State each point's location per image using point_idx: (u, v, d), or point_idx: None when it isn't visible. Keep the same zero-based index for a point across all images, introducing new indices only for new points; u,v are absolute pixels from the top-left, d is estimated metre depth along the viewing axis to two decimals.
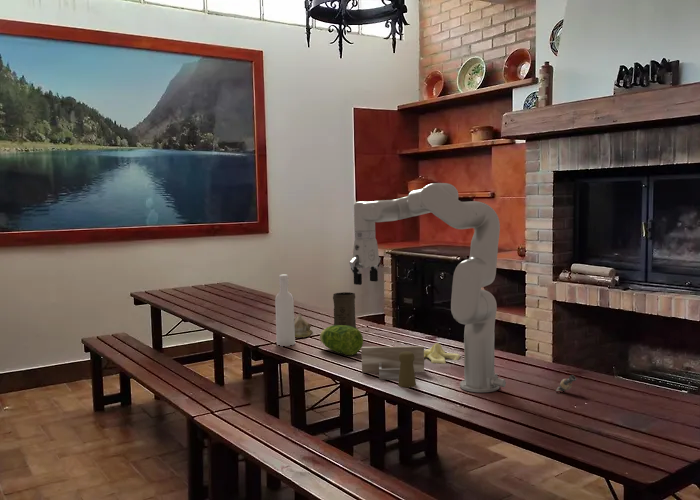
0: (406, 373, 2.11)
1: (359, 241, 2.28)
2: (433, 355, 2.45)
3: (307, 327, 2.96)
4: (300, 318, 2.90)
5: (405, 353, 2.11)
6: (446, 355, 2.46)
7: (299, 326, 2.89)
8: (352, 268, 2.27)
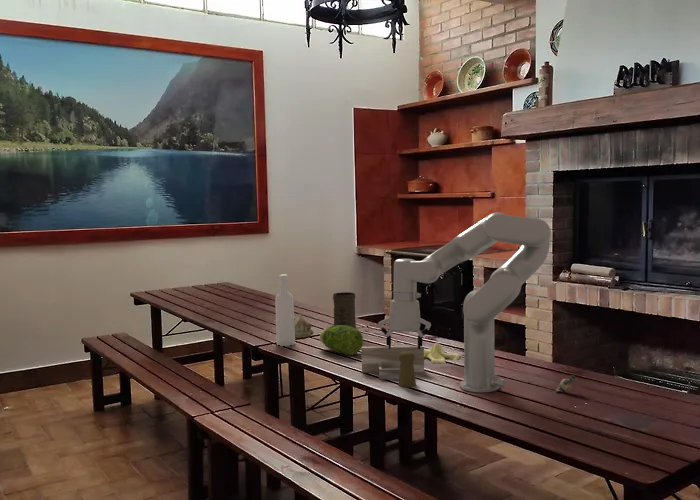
0: (406, 373, 2.11)
1: (418, 301, 2.12)
2: (433, 355, 2.45)
3: (308, 327, 2.96)
4: (301, 318, 2.91)
5: (405, 353, 2.11)
6: (446, 355, 2.46)
7: (300, 326, 2.89)
8: (427, 330, 2.11)
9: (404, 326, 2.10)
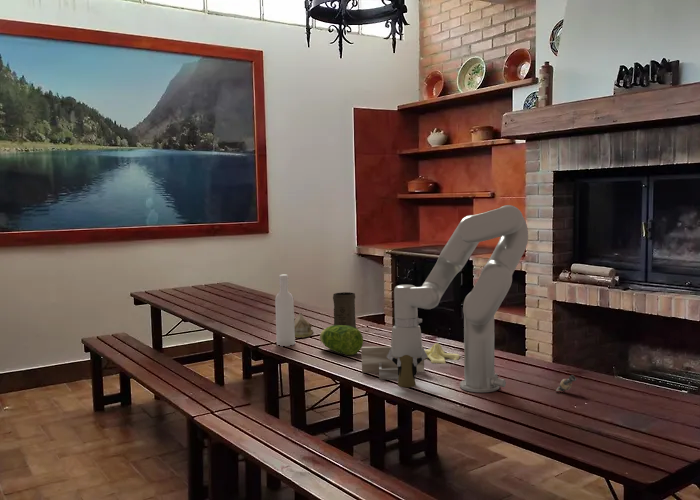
0: (405, 373, 2.11)
1: (419, 327, 2.12)
2: (433, 355, 2.45)
3: (308, 327, 2.97)
4: (301, 318, 2.91)
5: None
6: (446, 355, 2.46)
7: (301, 326, 2.90)
8: None
9: (406, 352, 2.10)
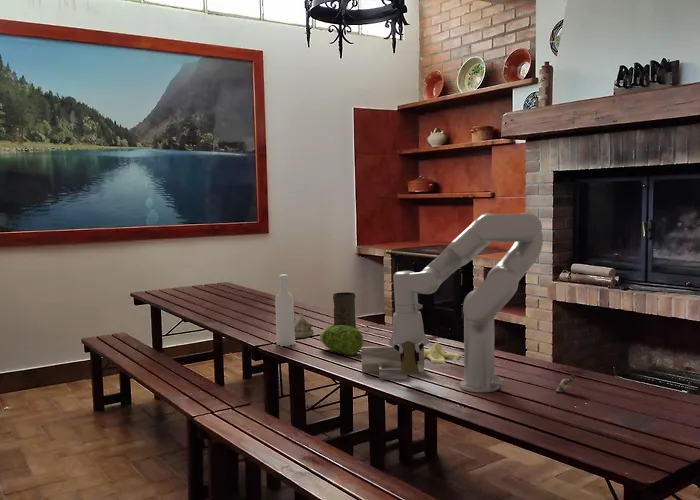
0: (408, 359, 2.10)
1: (420, 312, 2.12)
2: (433, 355, 2.45)
3: (308, 327, 2.97)
4: (302, 318, 2.91)
5: None
6: (446, 355, 2.46)
7: (301, 326, 2.90)
8: None
9: (408, 338, 2.10)
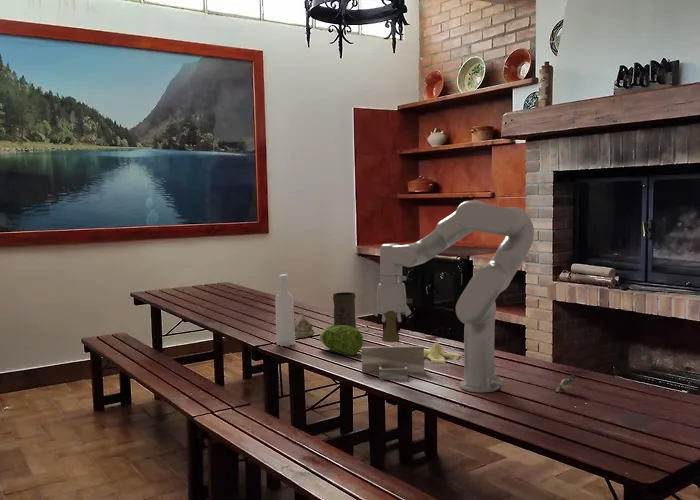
0: (389, 328, 2.19)
1: (404, 284, 2.21)
2: (433, 355, 2.45)
3: (309, 327, 2.97)
4: (303, 318, 2.91)
5: None
6: (446, 355, 2.46)
7: (302, 326, 2.90)
8: (405, 315, 2.21)
9: (391, 308, 2.18)
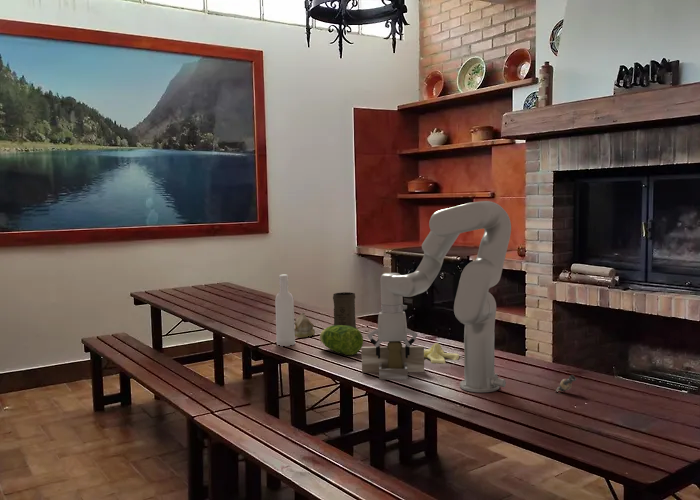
0: (395, 361, 2.22)
1: (404, 313, 2.24)
2: (433, 355, 2.45)
3: None
4: (305, 317, 2.92)
5: (394, 342, 2.23)
6: (446, 355, 2.46)
7: (304, 325, 2.90)
8: (414, 340, 2.24)
9: (392, 337, 2.22)
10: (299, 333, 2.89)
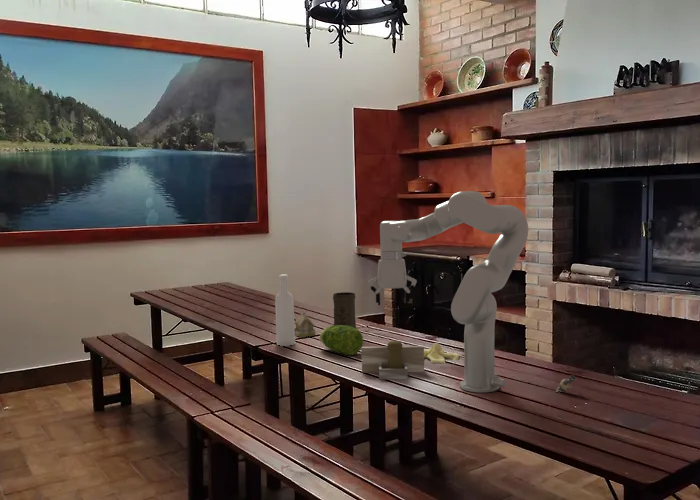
0: (395, 361, 2.22)
1: None
2: (432, 355, 2.45)
3: None
4: (306, 317, 2.92)
5: (394, 342, 2.23)
6: (445, 355, 2.46)
7: (305, 325, 2.91)
8: (414, 286, 2.27)
9: (392, 283, 2.25)
10: (300, 333, 2.89)
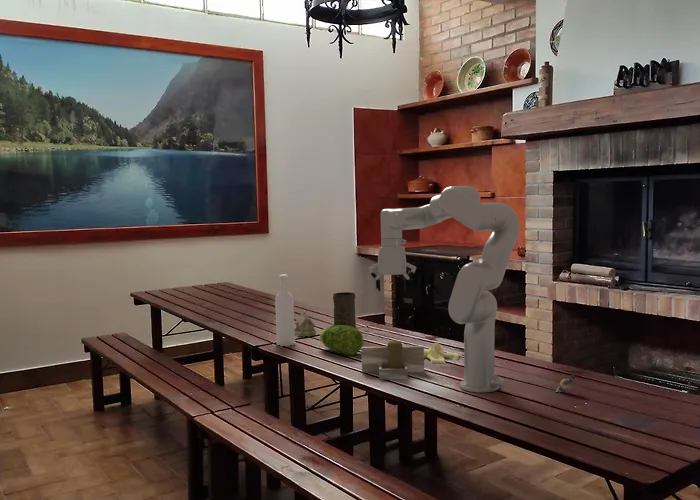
0: (395, 361, 2.22)
1: None
2: (432, 355, 2.45)
3: None
4: (306, 317, 2.92)
5: (394, 342, 2.23)
6: (445, 355, 2.46)
7: (306, 325, 2.91)
8: (413, 273, 2.32)
9: (391, 269, 2.30)
10: (301, 333, 2.89)
